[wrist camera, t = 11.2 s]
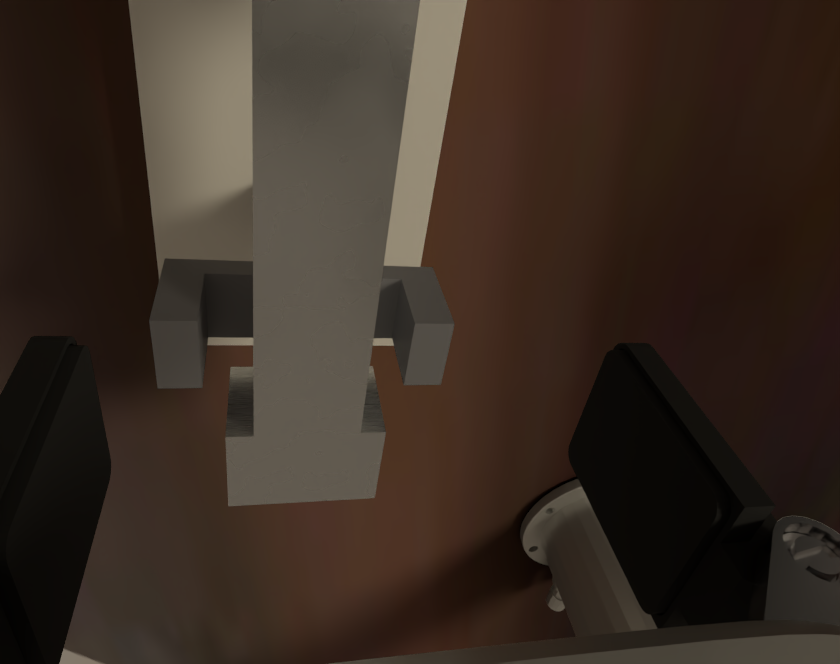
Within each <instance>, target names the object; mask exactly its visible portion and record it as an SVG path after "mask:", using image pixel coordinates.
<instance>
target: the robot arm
mask: <svg viewBox="0 0 840 664" xmlns="http://www.w3.org/2000/svg"><path fill="white" fill-rule="evenodd" d="M568 452H569V460H570V463H571V465H572V468H573V470H574V472H575V474H576V476H577V478H578V479H575V480H573V481H570V482H568V483H565V484H564V485H562V486H560V487H558V488H556V489H554V490H553V491H551V492H550V493H548V494H547V495H545V496H544V497H543V498H542V499H540V500H539V501H538V502H537V503H536V504H535V505H534V506H533V507H532V508H531V510H530V511H529V512H528V513H527V515H526V517H525V518H524V520H523V522H522V525H521V529H520V539H521V542H522V545H523V548H524V550H525V552H526V553H527V555H528V556H529V557H530V558H531V559H533V560H534V561H536V562H538V563H541V564H544V565H548V566H549V568H550V570H551V573H552V575H553V578H552V581H553V585H552V587H551V589H550V591H549V593H548V595H547V598H546V602H547V604H548V606H549V607H550V608H551V609H553V610H555V611H562V610H563V609H564V608H565V609H566V611H567V614H568V617H569V619H570V622H571V624H572V627H573V629H574V632H575V635H576V637H571V638H561V639H552V640H542V641H533V642H523V643H514V644H504V645H495V646H486V647H476V648H467V649H458V650H448V651H439V652H430V653H421V654H411V655H402V656H393V657H384V658H374V659H366V660H357V661H348V662H339V663H330V664H840V534H838V533H837V532H836V531H834V530H833V529H831V528H829V527H827V526H826V525H824V524H822V523H820V522H817V521H815V520H812V519H809V518H806V517H799V516H788V517H783V518H782V519H780V520H779V521H776V520H775V518H774V517H773V516H772V514H771V511H772V510H773V509H774V507H775V504H774V503H773V502H772V500H771V499H770V498H769V497H768V495H767V494H766V493H765V491H764V490H763V489H762V488H761V486H760V485H759V484H758V482H757V481H756V480H755V479H754V477H753V476H752V475H751V473H750V472H749V471H748V469H747V468H746V467H745V466H744V464H743V463H742V462H741V460H740V459H739V458H738V457H737V455H736V454H735V453H734V451H733V450H732V449H731V448H730V446H729V445H728V444H727V442H726V441H725V440H724V439H723V437H722V436H721V435H720V433H719V432H718V431H717V429H716V428H715V427H714V426H713V424H712V423H711V422H710V420H709V419H708V418H707V417H706V415H705V414H704V413H703V411H702V410H701V409H700V408H699V406H698V405H697V404H696V402H695V401H694V400H693V398H692V397H691V396H690V395H689V393H688V392H687V391H686V389H685V388H684V387H683V386H682V384H681V383H680V382H679V380H678V379H677V378H676V377H675V375H674V374H673V373H672V371H671V370H670V369H669V367H668V366H667V365H666V364H665V362H664V361H663V360H662V358H661V357H660V356H659V355H658V353H657V352H656V351H655V349H654V348H653V347H652V346H651V345H650V344H647V343H619V344H617V345H616V346H615V348H614V349H613V350H610V351H609V352H608V353H607V354H606V356H605V358H604V361H603V363H602V366H601V368H600V370H599V373H598V375H597V378H596V380H595V383H594V385H593V388H592V390H591V393H590V395H589V398H588V400H587V403H586V405H585V408H584V410H583V413H582V415H581V418H580V420H579V423H578V425H577V427H576V430H575V432H574V435H573V437H572V440H571V442H570V445H569V451H568ZM110 474H111V459H110V453H109V448H108V443H107V438H106V433H105V428H104V422H103V417H102V412H101V407H100V402H99V397H98V392H97V387H96V382H95V377H94V371H93V366H92V361H91V356H90V352H89V349H88V347H87V346H78V345H77V343H76V341H75V339H74V338H73V337H68V336H34V337H31V339H30V340H29V341H28V343H27V345H26V347H25V349H24V351H23V353H22V355H21V357H20V359H19V361H18V362H17V364H16V366H15V368H14V370H13V372H12V374H11V376H10V378H9V380H8V382H7V383H6V385H5V387H4V389H3V391H2V393H1V395H0V664H59V662H60V658H61V655H62V651H63V648H64V644H65V640H66V637H67V633H68V630H69V626H70V622H71V619H72V615H73V611H74V608H75V604H76V600H77V597H78V593H79V589H80V586H81V582H82V579H83V575H84V571H85V568H86V564H87V560H88V557H89V553H90V549H91V546H92V542H93V538H94V535H95V531H96V528H97V524H98V520H99V517H100V513H101V509H102V506H103V502H104V498H105V495H106V491H107V488H108V484H109V480H110Z"/></svg>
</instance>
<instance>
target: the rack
mask: <svg viewBox="0 0 840 664" xmlns="http://www.w3.org/2000/svg"><path fill="white" fill-rule="evenodd" d="M128 2H129V11H130V20H131V29H132V38H133V47H134V56H135V65H136V74H137V84H138V93H139V102H140V111H141V120H142V129H143V138H144V147H145V156H146V165H147V174H148V183H149V192H150V201H151V210H152V219H153V228H154V238H155V247H156V256H157V265H158V274H159V283H158V287H157V291H156V295H155V299H154V303H153V307H152V311H151V315H150V319H149V324H150V331H151V339H152V347H153V355H154V363H155V371H156V379H157V386H158V388H202V384H203V376H204V368H205V360H206V352H207V345H253V142H252V0H128ZM466 2H467V0H420V5H419V13H418V20H417V27H416V34H415V42H414V49H413V56H412V63H411V71H410V78H409V85H408V92H407V100H406V107H405V114H404V121H403V128H402V136H401V143H400V150H399V157H398V165H397V172H396V179H395V186H394V194H393V201H392V208H391V215H390V223H389V230H388V237H387V244H386V252H385V259H384V266H383V273H382V281H381V288H380V295H379V302H378V310H377V317H376V324H375V331H374V339H373V345H386V346H394V348H395V352H396V356H397V360H398V364H399V368H400V372H401V376H402V380H403V384H404V385H441V381H442V377H443V372H444V368H445V364H446V359H447V355H448V350H449V346H450V342H451V337H452V333H453V328H454V321H453V319H452V316H451V314H450V311H449V308H448V306H447V303H446V301H445V298H444V295H443V293H442V290H441V288H440V285H439V283H438V280H437V277H436V275H435V272H434V270H433V267H420V264H421V259H422V253H423V247H424V242H425V236H426V230H427V225H428V219H429V213H430V207H431V202H432V196H433V190H434V185H435V179H436V173H437V168H438V162H439V156H440V150H441V145H442V139H443V133H444V128H445V122H446V116H447V111H448V105H449V99H450V94H451V88H452V82H453V76H454V71H455V65H456V59H457V54H458V48H459V42H460V37H461V31H462V25H463V19H464V14H465V8H466Z"/></svg>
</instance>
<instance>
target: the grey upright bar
mask: <svg viewBox="0 0 840 664" xmlns="http://www.w3.org/2000/svg"><path fill="white" fill-rule="evenodd" d="M419 5H420V0H252V142H253V367H231V370H230V384H229V398H228V411H227V425H226V459H227V483H228V506H240V505H258V504H276V503H294V502H312V501H330V500H347V499H365V498H375V493H376V487H377V481H378V475H379V469H380V463H381V458H382V452H383V446H384V440H385V434H386V431H385V426H384V421H383V416H382V411H381V406H380V401H379V396H378V391H377V386H376V381H375V376H374V371H373V366H370V360H371V353H372V346H373V339H374V331H375V324H376V317H377V310H378V302H379V295H380V288H381V281H382V273H383V266H384V259H385V252H386V244H387V237H388V230H389V223H390V215H391V208H392V201H393V194H394V186H395V179H396V172H397V165H398V157H399V150H400V143H401V136H402V128H403V121H404V114H405V107H406V100H407V92H408V85H409V78H410V71H411V63H412V56H413V49H414V42H415V34H416V27H417V20H418V13H419Z"/></svg>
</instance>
